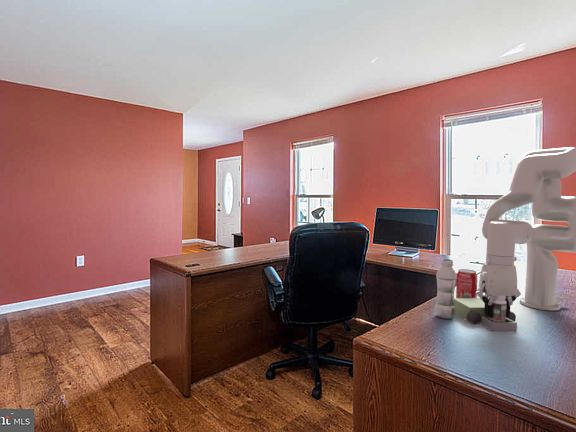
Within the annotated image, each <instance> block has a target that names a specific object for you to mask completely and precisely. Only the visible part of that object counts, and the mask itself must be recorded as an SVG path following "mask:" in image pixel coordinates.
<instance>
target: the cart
mask: <svg viewBox="0 0 576 432" xmlns="http://www.w3.org/2000/svg"><path fill="white" fill-rule="evenodd" d="M488 299H489V298H488ZM454 305H455V315H456V316H457V317H460V318H461V319H462V320H464V319H465V321H466V322H467V323H471V324H473V325H478V324H480V325H482V326H484V327H485V326H486V327H485V328H487V329H489V330H490V329H491V330H490V331H492V330H493V332H516V331H517V328H518V326H517V325H518V323H517V322H516V319H517V315H516V314H515V312H512V311H511V310H510V317H506V320H505V321H504V322H497V321H493V320H491V319H489V317H488V316H487V315H485V312H484V307H485V303H484V302H483V301H482V300H481V299H480V297H477V298H456V297H454Z"/></svg>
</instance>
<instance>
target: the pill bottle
mask: <svg viewBox="0 0 576 432" xmlns="http://www.w3.org/2000/svg"><path fill="white" fill-rule="evenodd" d="M505 299H506V296H494V299H493V302H492V305H493V306H494V309H493V317H492V318H490V317H489V319H491V320H493V321H497V322H504V321H505V320H506V305H507V302H506V301H505Z"/></svg>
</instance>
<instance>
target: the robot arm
mask: <svg viewBox="0 0 576 432" xmlns="http://www.w3.org/2000/svg"><path fill="white" fill-rule="evenodd" d="M575 172H576V147H575V146H573V147H572V146H570V147H558V148H557V147H556V148H548V149H547V148H546V149H537V150H532V151H527V152H526V153H524V154H523V155H522V158H521V159H520V160H519V161H518V163H517V166H516V169H515V172H514V175H513V178H512V181H511V184H510V186H509V187H510V188H509V191H507V193H505V194H504V195H502V196H500V197H499V198H498V199H496V201H494V202H493V203H492V205H491V206H489V207H488V210H487V212H486V214H485V217H484V220H483V223H482V228H481V231H482V232H481V233H482V236H483V238H484V239H486V255H485V256H486V257H485V262H483V264H482V266H481V270H480V275H479V281H478V288H477V291H476V293H475V294H476V295H477V298H480V299H481V300H482V301H483V302H484V303H485V307H484V312H485V315H487V316H488V317H490V318H492V317H493V309H494V306H493V305H492V302H493V299H494V296H506V299H505V301H506V302H507V305H506V317H510V311H511V306H512V305H513V303H514V302H515V300H517V298H519V296H521V295H522V293H521V292H520V290H519V289H518V274H517V273H518V272H517V268H516V265H515V262H516V261H517V257H516V256H515V252H516V251H515V250H516V249H515V248H516V245H524V244H526V254H527V255H526V270H525V271H526V272H525V287H524V288H525V289H524V297H522V298H520V299H519V303H520V304H521V305H523V306H526V307H528V308H532V309H537V310H542V311H550V312H551V311H552V312H553V311H560V310H561V309H562V308H561V305H560V304H559V303H561V302H563V303H565V302H566V303H567V302H568V298H567V297H566V296H559V295H557V287H558V272H559V270H558V269H559V262H558V259H557V257H556V255H554V253H553V251H555V252H563V253H573V254H576V196H572V195H569V196H566V195H565V196H564V195H562V185H563V183H562V181H561V179H565V178H568V177H569V176H571V175H572V174H573V173H575ZM529 204H532V205H531V212H532V213H531V214H532V217H533V218H534V219H535V220H537V221H542V222H543V221H545V222H555V223H556V222H557V223H566V224H567V225H556V224H545V223H544V224H539V223H538V224H534V225H533V224H531V223H529V222H527V221H522V220H511V219H500V218H501V217H502V216H503V215H504V214H505V213H507V212H509V211H511V210H514V209H517V208H520V207H523V206H527V205H529ZM488 298H489V299H488Z"/></svg>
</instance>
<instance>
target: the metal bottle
mask: <svg viewBox="0 0 576 432" xmlns="http://www.w3.org/2000/svg"><path fill="white" fill-rule="evenodd" d="M440 265H441V267H440V268H439V269H438V270H436V271H437V272H436V276H435V277H436V286H437V287H436V288H437V290H436V291H437V294H436V302H435V304H434V313H435V315H436V316H437V317H439V318H441V319H447V320H448V319H453V318H454V317H455V315H456V314H455V305H454V298H455V292H456V289H455V288H456V283H457V273H456V271H455V270H454V268H453V266H454V260H453V259H449V258H441V261H440Z"/></svg>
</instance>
